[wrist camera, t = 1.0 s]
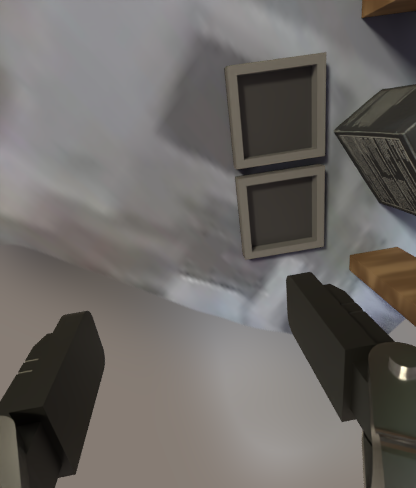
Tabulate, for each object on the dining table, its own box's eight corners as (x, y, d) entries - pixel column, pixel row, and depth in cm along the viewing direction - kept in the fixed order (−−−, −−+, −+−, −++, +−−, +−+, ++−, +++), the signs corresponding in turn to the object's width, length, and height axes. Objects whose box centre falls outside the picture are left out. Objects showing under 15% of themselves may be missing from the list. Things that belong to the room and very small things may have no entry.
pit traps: (224, 68, 29) (226, 66, 27) (318, 55, 29) (326, 52, 28) (242, 254, 36) (245, 259, 35) (318, 241, 36) (323, 246, 35)
